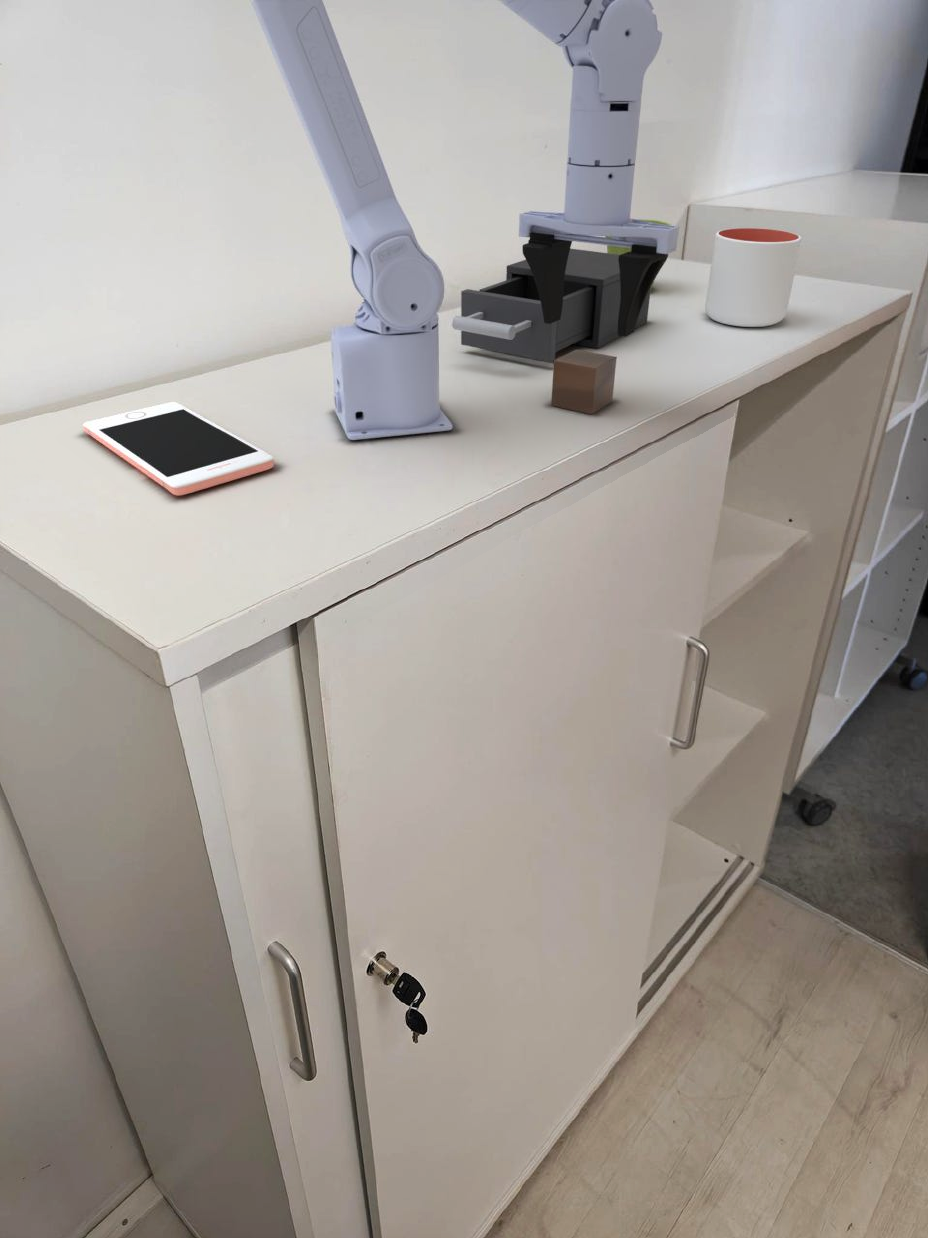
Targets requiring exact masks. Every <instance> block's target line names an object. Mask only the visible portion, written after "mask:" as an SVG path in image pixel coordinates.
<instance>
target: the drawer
mask: <svg viewBox="0 0 928 1238" xmlns="http://www.w3.org/2000/svg"><path fill="white" fill-rule="evenodd" d="M596 290H597V286H594V285H587V284H581V283H574V282H567V281H564V288H563V306H562V313H561V319H560V320H558V321H556V322H553V323H551V324H547V323H544V318H543V312H542V307H541V302H540V297H539V293H538V289H537V285H536V282H535V279H534V277H533V276H526V275H520V276H517V277H515V278H512V279H509V280H503V281H500V282H498V283H494V284H492V285H489V286H485V287H483V288H480V289H479V290H476V289H469V288H467V289H464V290H461V291H460V295H461V298H460V302H461V303H460V306H461V307H460V309H461V310H460V312H461V315H455V316H454V317H453V318H452V329H454V330H456V331H460V345H462V346H466V347H471V348H477V349H482V350H485V351H491V352H497V353H502V354H508V355H511V356H518V357H522V358H527V359H533V360H537V361H543V362H548V363H550V362H552V361H554V360H556V353H557V352H559V351H562V350H563V349H565V348H568V347H569V346H571V345H574V344H573V343H575V342H577V341H580V340H582V339H584V338H586V337H588V336H590V335H592V334H593V327H594V315H595V302H596Z"/></svg>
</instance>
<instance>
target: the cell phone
mask: <svg viewBox="0 0 928 1238" xmlns="http://www.w3.org/2000/svg"><path fill="white" fill-rule="evenodd" d="M83 429H84V432H85V434H88V435H89V436H91V437H92V438H93V439H95V440H96V441H98V442H99V443H101V444H102V445H103V446H105V447H106V448H107V449H109V450H110V451H112V452H113V453H114V454H116V455H117V456H119V457H120V458H122V459H123V460H124V461H126V462H127V463H129V464H130V465H132V466H133V467H134V468H136V469H137V470H139V471H140V472H142V473H143V474H144V475H146V476H147V477H149V478H150V479H151V480H153V481H154V482H156V483H157V484H158V485H160V486H162V487H163V488H164V489H166V490H167V491H168V492H169V493H171V494H172V495H174V496H184V495H188V494H192V493H195V492H198V491H201V490H204V489H208V488H212V487H214V486H218V485H221V484H225V483H228V482H231V481H235V480H238V479H241V478H245V477H248V476H251V475H254V474H257V473H261V472H265V471H268V470H270V469H272V468H274V466H275V461H274V457H273V455H271V454H269V453H268V452H267V451H264V450H263V449H261V448H259V447H258V446H255V444H252V443H250V442H249V441H247V440H245V439H243V438H241V437H240V436H237V435H236V434H234V433H232V432H231V431H229V430H227V429H226V428H223V427H222V426H220V425H218V424H216V423H214V422H213V421H211V420H210V419H208V418H205V417H204V416H202V415H201V414H198V413H197V412H195V411H193V410H191V409H190V408H188V407H186V406H184V405H182V404H181V403H178V402H176V401H171V402H166V403H165V402H164V403H161V404H157V405H153V406H147V407H143V408H139V409H136V410H135V409H134V410H131V411H127V412H123V413H118V414H114V415H109V416H106V417H102V418H97V419H93V420H88V421H86V422H84V423H83Z"/></svg>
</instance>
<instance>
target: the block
mask: <svg viewBox="0 0 928 1238" xmlns="http://www.w3.org/2000/svg"><path fill="white" fill-rule="evenodd" d="M616 367H617V356H613V355H607V354H603V353H597V352H592V351H587V350H581V349H574V350H571V351H570V352H568V353H566V354H564V355H562V356H559V357H558V358H555V359H554V360H553V367H552V374H553V375H552V387H551V402H550V404H551V406H552V407H555V408H561V409H566V410H569V411H573V412H574V411H575V412H579V413H584V414H587V415H594V414H595V413H597V412H598V411H600V410H601V409H603V408H605V407H606V406H608V405H609V404H611V403H612V402H613V398H614V389H615V377H616V369H617V368H616Z"/></svg>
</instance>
